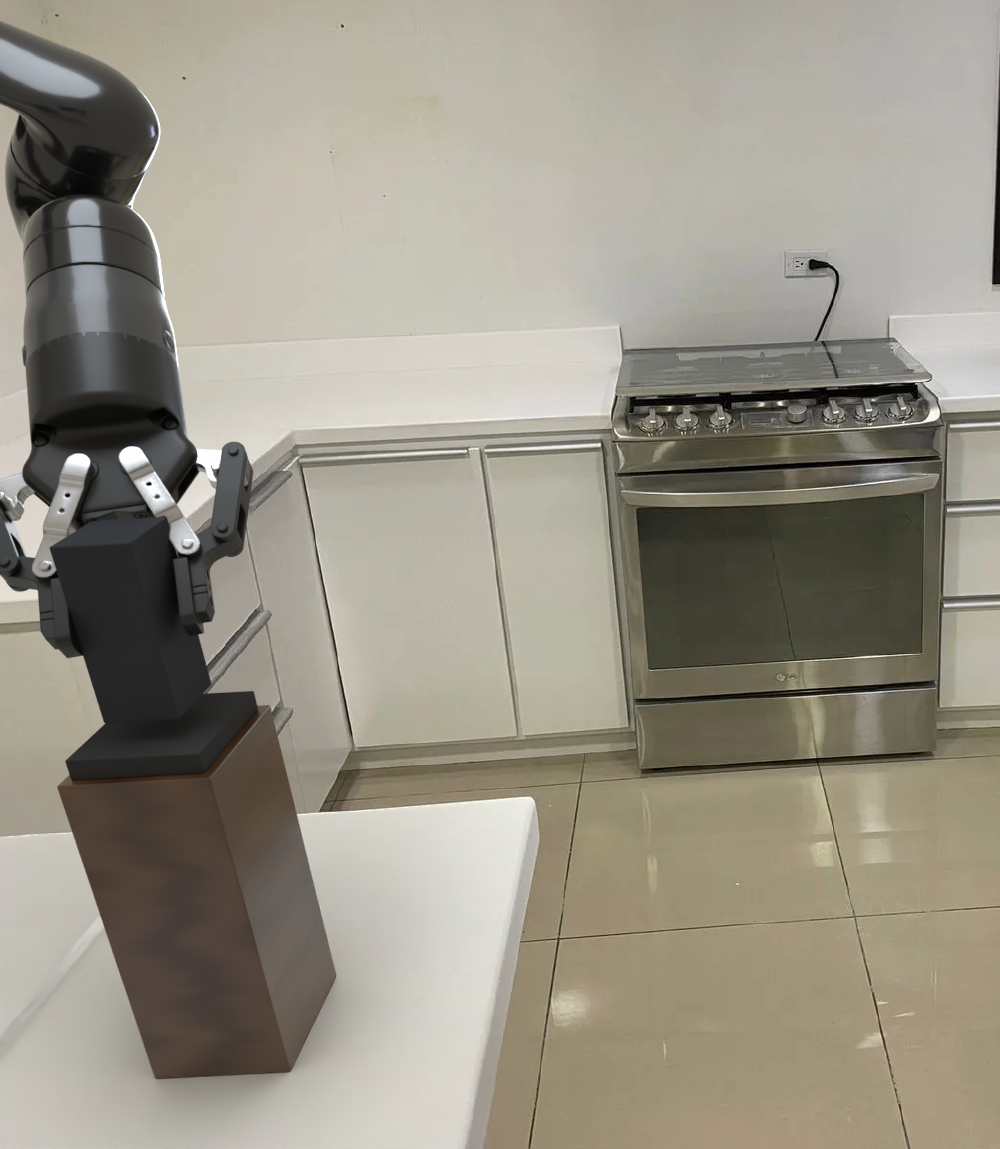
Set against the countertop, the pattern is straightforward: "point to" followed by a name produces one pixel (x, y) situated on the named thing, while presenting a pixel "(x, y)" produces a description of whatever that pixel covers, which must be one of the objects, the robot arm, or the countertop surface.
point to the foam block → (130, 619)
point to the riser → (208, 907)
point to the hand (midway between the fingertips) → (131, 639)
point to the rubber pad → (165, 741)
